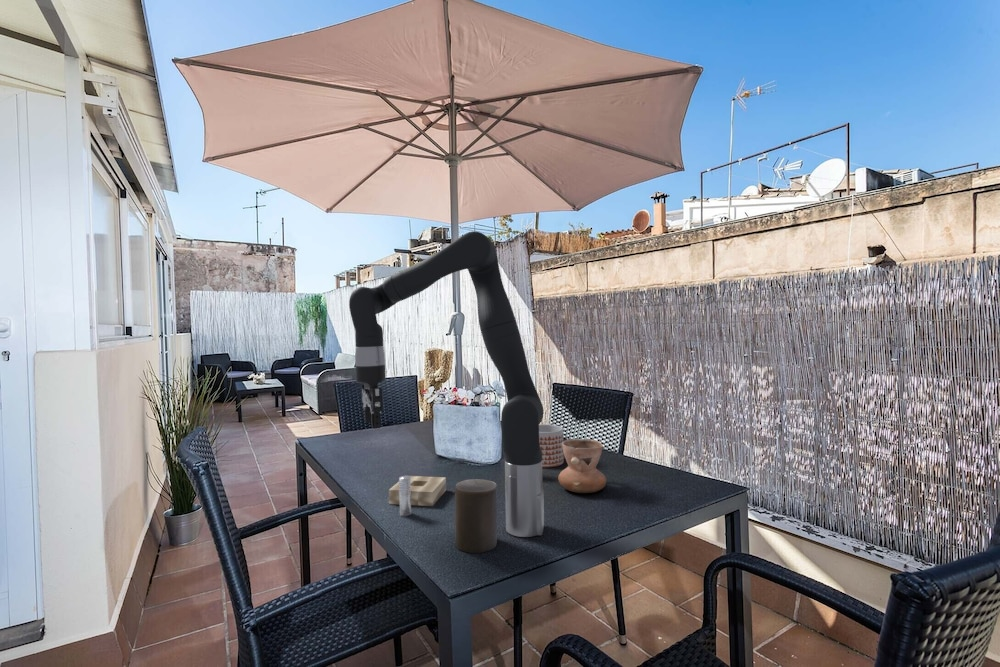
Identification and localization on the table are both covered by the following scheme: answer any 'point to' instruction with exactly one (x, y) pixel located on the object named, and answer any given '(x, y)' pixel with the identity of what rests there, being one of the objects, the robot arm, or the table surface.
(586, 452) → the terracotta incense burner
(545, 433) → the planter
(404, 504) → the steel pin
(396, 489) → the oak hole block
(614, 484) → the table surface
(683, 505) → the table surface
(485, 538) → the pillar candle
